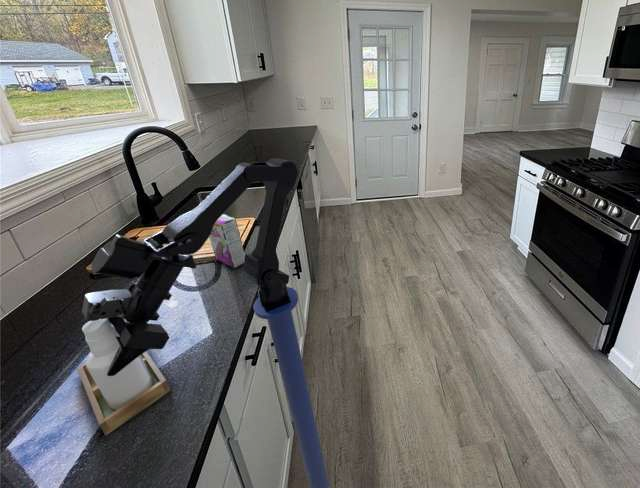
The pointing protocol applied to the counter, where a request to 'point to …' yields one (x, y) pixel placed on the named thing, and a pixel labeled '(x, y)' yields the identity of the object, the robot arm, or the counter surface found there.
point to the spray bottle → (103, 352)
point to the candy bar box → (227, 242)
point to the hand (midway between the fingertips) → (105, 365)
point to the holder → (115, 418)
